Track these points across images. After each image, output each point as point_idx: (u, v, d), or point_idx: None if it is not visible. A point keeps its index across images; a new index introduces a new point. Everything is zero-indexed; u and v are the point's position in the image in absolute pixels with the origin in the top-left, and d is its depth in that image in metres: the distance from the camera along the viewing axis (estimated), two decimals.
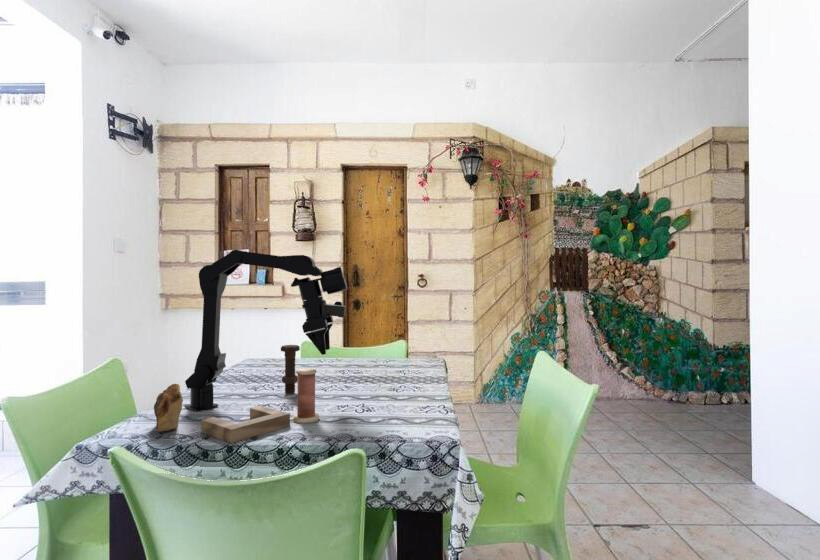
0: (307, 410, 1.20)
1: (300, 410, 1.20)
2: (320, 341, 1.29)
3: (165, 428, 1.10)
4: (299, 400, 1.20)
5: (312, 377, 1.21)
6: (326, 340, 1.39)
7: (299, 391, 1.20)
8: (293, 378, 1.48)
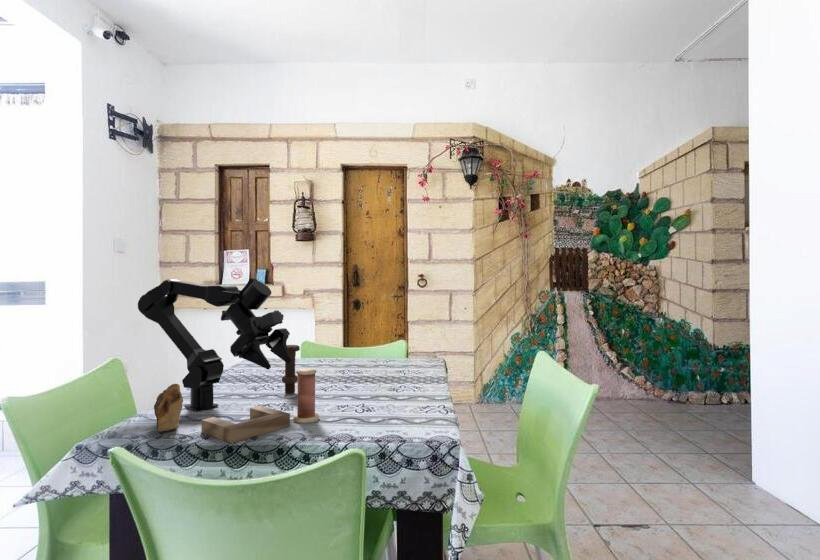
0: (307, 410, 1.20)
1: (300, 410, 1.20)
2: (258, 357, 1.20)
3: (165, 428, 1.10)
4: (299, 400, 1.20)
5: (312, 377, 1.21)
6: (284, 354, 1.29)
7: (299, 391, 1.20)
8: (293, 378, 1.48)
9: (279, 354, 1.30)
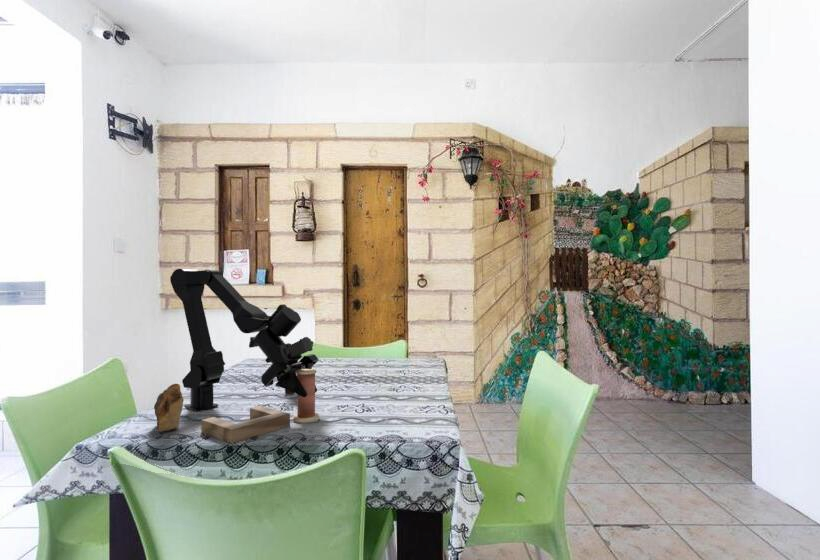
0: (307, 410, 1.20)
1: (300, 409, 1.20)
2: (294, 385, 1.19)
3: (166, 427, 1.10)
4: (299, 400, 1.20)
5: (312, 377, 1.21)
6: None
7: None
8: None
9: None
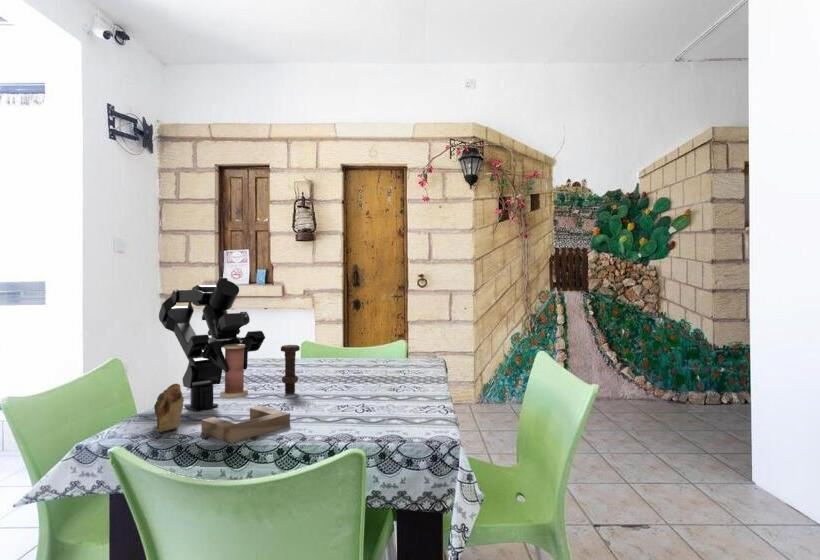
0: (230, 385, 1.16)
1: (225, 384, 1.17)
2: (218, 359, 1.17)
3: (166, 427, 1.10)
4: (225, 374, 1.18)
5: (236, 352, 1.17)
6: None
7: None
8: (293, 378, 1.48)
9: None
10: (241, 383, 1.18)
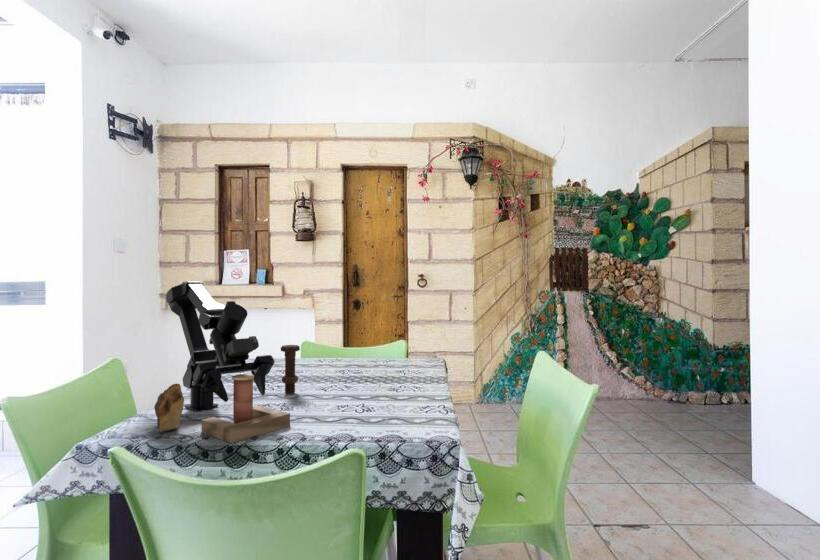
0: (238, 418, 1.12)
1: (233, 417, 1.13)
2: (217, 387, 1.11)
3: (166, 427, 1.10)
4: (233, 407, 1.14)
5: (245, 383, 1.13)
6: (260, 384, 1.18)
7: (233, 397, 1.14)
8: (293, 378, 1.48)
9: (257, 384, 1.19)
10: (250, 415, 1.14)
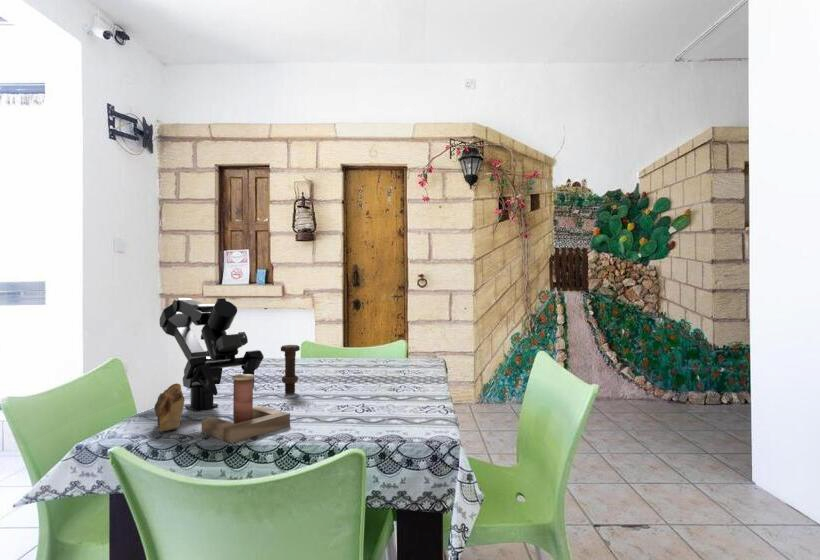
0: (238, 418, 1.12)
1: (233, 417, 1.13)
2: (207, 382, 1.16)
3: (167, 427, 1.10)
4: (233, 407, 1.14)
5: (245, 383, 1.13)
6: None
7: (233, 397, 1.14)
8: (293, 378, 1.48)
9: None
10: (250, 415, 1.14)
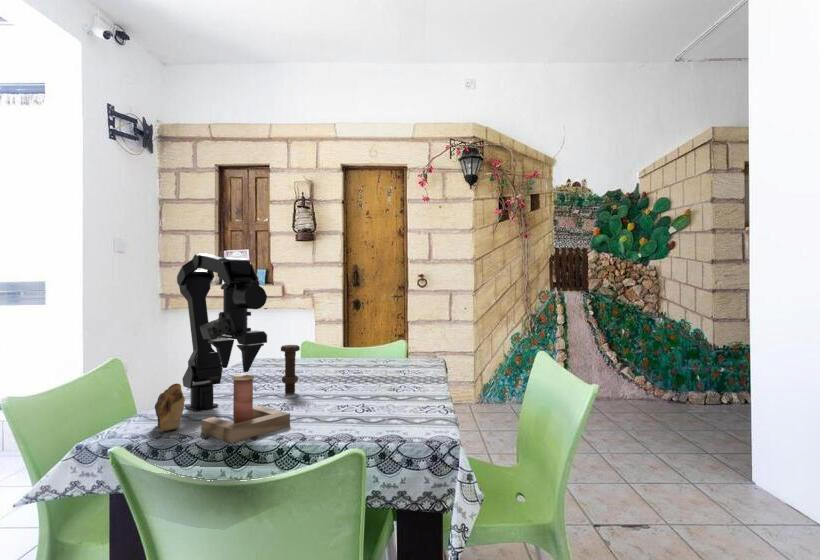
0: (238, 418, 1.12)
1: (233, 417, 1.13)
2: None
3: (167, 427, 1.10)
4: (233, 407, 1.14)
5: (245, 383, 1.13)
6: None
7: (233, 397, 1.14)
8: (293, 378, 1.48)
9: None
10: (250, 415, 1.14)
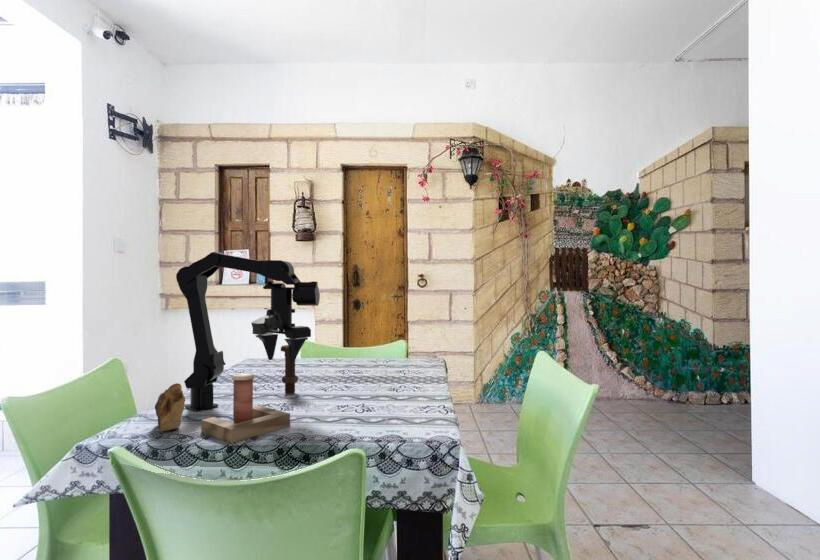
0: (238, 418, 1.12)
1: (233, 417, 1.13)
2: None
3: (167, 427, 1.10)
4: (233, 407, 1.14)
5: (245, 383, 1.13)
6: None
7: (233, 397, 1.14)
8: (293, 378, 1.48)
9: None
10: (250, 415, 1.14)
